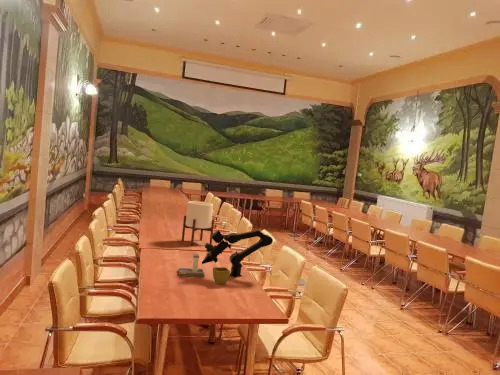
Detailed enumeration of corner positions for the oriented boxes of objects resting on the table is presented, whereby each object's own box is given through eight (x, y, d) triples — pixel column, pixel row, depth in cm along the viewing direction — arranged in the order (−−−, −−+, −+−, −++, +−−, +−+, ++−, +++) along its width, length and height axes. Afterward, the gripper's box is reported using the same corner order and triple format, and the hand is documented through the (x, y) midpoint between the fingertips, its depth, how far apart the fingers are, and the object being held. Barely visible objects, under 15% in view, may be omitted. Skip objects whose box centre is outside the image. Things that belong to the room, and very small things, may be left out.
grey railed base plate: (202, 271, 286) (202, 267, 286) (204, 276, 275) (204, 273, 274) (178, 270, 282) (178, 266, 282) (179, 275, 271) (179, 272, 271)
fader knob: (196, 269, 282) (198, 254, 282) (197, 272, 276) (199, 256, 275) (191, 269, 282) (192, 253, 281) (192, 272, 275) (193, 256, 275)
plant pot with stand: (213, 245, 373) (217, 205, 371) (190, 246, 360) (194, 204, 358) (201, 239, 392) (205, 201, 389) (179, 240, 379) (183, 200, 376)
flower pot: (211, 281, 267) (212, 267, 266) (224, 280, 270) (225, 267, 270) (215, 285, 259) (217, 271, 258) (228, 285, 262) (230, 271, 262)
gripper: (210, 236, 289) (192, 251, 287) (214, 242, 271) (195, 258, 269) (220, 248, 291) (203, 263, 289) (225, 254, 273) (206, 270, 271)
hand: (201, 263), depth 280 cm, fingers closed
